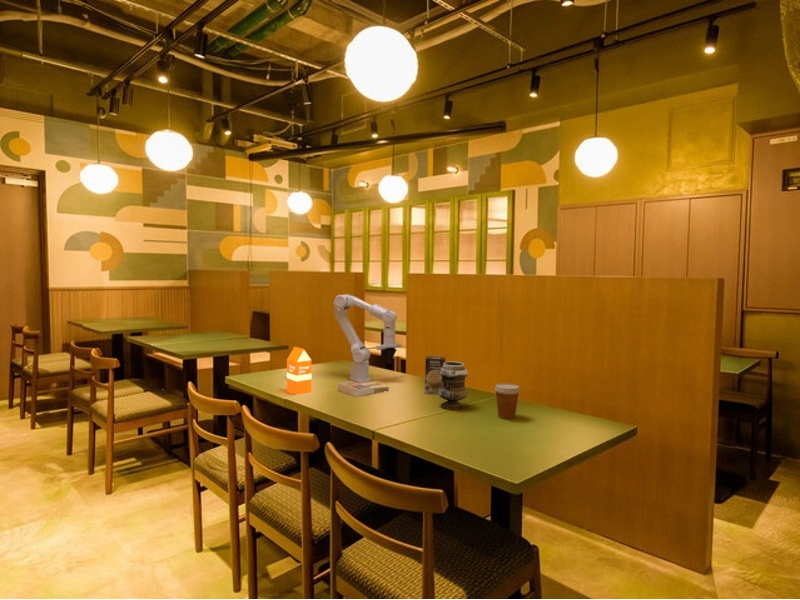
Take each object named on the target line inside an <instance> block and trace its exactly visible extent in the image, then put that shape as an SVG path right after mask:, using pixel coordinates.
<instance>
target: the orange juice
mask: <svg viewBox="0 0 800 600" xmlns="http://www.w3.org/2000/svg"><path fill="white" fill-rule="evenodd" d="M312 374H313V373H312V358H311V357H310V355H309V354H308V353H307V351H306V350H305V349H304V348H302V347H299V346H293V349H292V350H291V352H290V353H289V356H288V357H287V358H286V391H287V392H288V391H289V392H288V393H291V394H293V393H294V394H293V395H296V394H299V395H303V393H304V394H308V393H309V392H310V393H312V380H313V379H312Z"/></svg>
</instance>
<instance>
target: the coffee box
mask: <svg viewBox="0 0 800 600" xmlns="http://www.w3.org/2000/svg"><path fill="white" fill-rule="evenodd" d="M444 362H446V357H445V356H432V355H431V356H429V355H428V356H427V355H426V356H425V362H424V363H425V366H424V388H423V389H424V391H423V392H424V394H428V395H429V394H430V395H439V394H438V390H439V389H440V387H441V385H442V377H441V376H440V374H439V370H440V369H441V368H442V367H443V363H444Z"/></svg>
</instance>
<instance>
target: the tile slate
mask: <svg viewBox="0 0 800 600" xmlns="http://www.w3.org/2000/svg"><path fill="white" fill-rule="evenodd" d="M364 388H370V387H368V386H365V385H364V386H358V387H356V389H358V390H359V389H364Z"/></svg>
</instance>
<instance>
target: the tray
mask: <svg viewBox="0 0 800 600" xmlns="http://www.w3.org/2000/svg"><path fill="white" fill-rule="evenodd" d="M351 383H356V381H354V380H352V381H347V382H346V381H345V382H337V391H338V390H339V391H338V392H341V391H342V392H341V393H344V394H346V393H347V395H349V394H350V395H349V396H352V395H353V397H355V398H359V396H360V397H364V395H365V396H369V395H375V393H374V390H373V387H370V388H364V389H359V390H358V389H356V388H353V387H350V386H347V384H351Z"/></svg>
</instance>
